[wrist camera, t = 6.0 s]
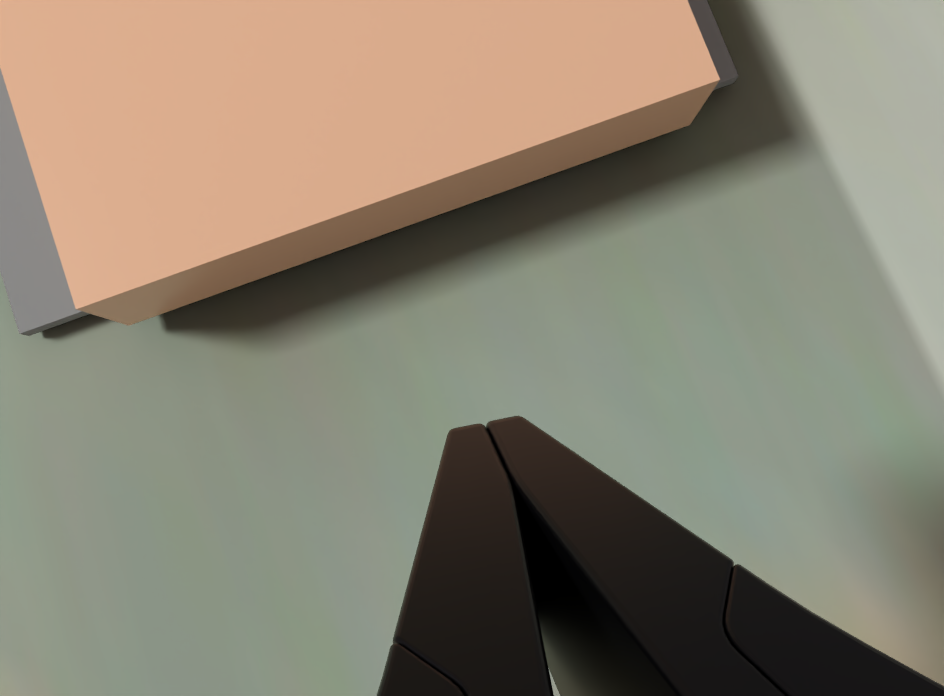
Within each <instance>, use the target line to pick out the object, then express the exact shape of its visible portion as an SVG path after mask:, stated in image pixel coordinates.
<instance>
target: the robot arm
mask: <svg viewBox="0 0 944 696" xmlns="http://www.w3.org/2000/svg"><path fill="white" fill-rule="evenodd" d="M548 667H549V669H548ZM549 670H550V672H551V674H552V677H553V679H554V682H555V684H556V686H557V689H558V691H559V694H560V696H944V686H942V685H940V684H939V683H937V682H935V681H933V680H931V679H930V678H928V677H926V676H924V675H922V674H920V673H919V672H917V671H915V670H913V669H911V668H910V667H908V666H906V665H904V664H902V663H901V662H899V661H897V660H895V659H893V658H891V657H890V656H888V655H886V654H884V653H882V652H881V651H879V650H877V649H875V648H873V647H872V646H870V645H868V644H866V643H864V642H863V641H861V640H859V639H857V638H856V637H854V636H852V635H851V634H849V633H847V632H845V631H844V630H842V629H840V628H838V627H837V626H835V625H833V624H832V623H830V622H828V621H826V620H825V619H823V618H821V617H820V616H818V615H816V614H814V613H813V612H811V611H809V610H808V609H806V608H805V607H803V606H802V605H800V604H799V603H797V602H796V601H794V600H792V599H791V598H789V597H788V596H786V595H785V594H783V593H782V592H780V591H778V590H777V589H775V588H774V587H772V586H771V585H769V584H768V583H766V582H765V581H763V580H762V579H760V578H759V577H757V576H756V575H754V574H753V573H751V572H750V571H748V570H747V569H745V568H744V567H743V566H741V565H739V564H737V565H734V562H733V560H732V559H730V558H729V557H727V556H726V555H724V554H723V553H722V552H720V551H719V550H717V549H716V548H714V547H713V546H711V545H710V544H708V543H707V542H705V541H704V540H702V539H701V538H699V537H698V536H697V535H695V534H694V533H692V532H691V531H689V530H688V529H686V528H685V527H683V526H682V525H680V524H679V523H677V522H676V521H675V520H673V519H672V518H670V517H669V516H667V515H666V514H664V513H663V512H661V511H660V510H658V509H657V508H655V507H654V506H653V505H651V504H650V503H648V502H647V501H645V500H644V499H642V498H641V497H639V496H638V495H636V494H635V493H633V492H632V491H630V490H629V489H628V488H626V487H625V486H623V485H622V484H620V483H619V482H617V481H616V480H614V479H613V478H611V477H610V476H608V475H607V474H606V473H604V472H603V471H601V470H600V469H598V468H597V467H595V466H594V465H592V464H591V463H589V462H588V461H586V460H585V459H584V458H582V457H581V456H579V455H578V454H576V453H575V452H573V451H572V450H570V449H569V448H567V447H566V446H564V445H563V444H561V443H560V442H559V441H557V440H556V439H554V438H553V437H551V436H550V435H548V434H547V433H545V432H544V431H542V430H541V429H539V428H538V427H537V426H535V425H534V424H532V423H531V422H529V421H528V420H526V419H525V418H523V417H520V416H513V417H508V418H503V419H498V420H494V421H490V422H488V423H487V425H486V427H485V426H484V425H482V424H473V425H468V426H463V427H458V428H454V429H451V430H450V431H449V433H448V435H447V439H446V442H445V446H444V450H443V454H442V457H441V461H440V465H439V469H438V472H437V476H436V480H435V484H434V487H433V491H432V495H431V499H430V502H429V506H428V510H427V514H426V517H425V521H424V525H423V529H422V532H421V536H420V540H419V544H418V547H417V551H416V555H415V559H414V562H413V566H412V570H411V574H410V577H409V581H408V585H407V589H406V592H405V596H404V600H403V604H402V607H401V611H400V615H399V619H398V622H397V626H396V630H395V634H394V637H393V645H392V646H391V647H390V651H389V654H388V658H387V662H386V666H385V669H384V673H383V677H382V680H381V683H380V686H379V690H378V693H377V696H554V695H553V690H552V685H551V680H550V674H549Z"/></svg>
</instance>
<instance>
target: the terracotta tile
mask: <svg viewBox="0 0 944 696" xmlns="http://www.w3.org/2000/svg"><path fill="white" fill-rule="evenodd" d="M0 68H1V71H2V75H3V78H4V81H5V84H6V87H7V91H8V94H9V97H10V100H11V103H12V107H13V110H14V113H15V116H16V119H17V123H18V126H19V129H20V132H21V135H22V139H23V142H24V145H25V148H26V151H27V155H28V158H29V161H30V164H31V167H32V171H33V174H34V177H35V180H36V183H37V187H38V190H39V193H40V196H41V199H42V203H43V206H44V209H45V212H46V215H47V219H48V222H49V225H50V228H51V231H52V235H53V238H54V241H55V244H56V247H57V251H58V254H59V257H60V260H61V263H62V267H63V270H64V273H65V276H66V279H67V283H68V286H69V289H70V292H71V295H72V299H73V302H74V305H75V308H76V310H80V311H83V312H86V313H89V314H93V315H96V316H99V317H103V318H106V319H109V320H112V321H116V322H119V323H122V324H125V325H132V324H135V323H137V322H140V321H143V320H146V319H149V318H151V317H154V316H157V315H160V314H163V313H165V312H168V311H171V310H174V309H177V308H179V307H182V306H185V305H188V304H191V303H193V302H196V301H199V300H202V299H205V298H207V297H210V296H213V295H216V294H219V293H221V292H224V291H227V290H230V289H233V288H235V287H238V286H241V285H244V284H247V283H249V282H252V281H255V280H258V279H261V278H263V277H266V276H269V275H272V274H275V273H277V272H280V271H283V270H286V269H288V268H291V267H294V266H297V265H300V264H302V263H305V262H308V261H311V260H314V259H316V258H319V257H322V256H325V255H328V254H330V253H333V252H336V251H339V250H342V249H344V248H347V247H350V246H353V245H356V244H358V243H361V242H364V241H367V240H370V239H372V238H375V237H378V236H381V235H384V234H386V233H389V232H392V231H395V230H398V229H400V228H403V227H406V226H409V225H412V224H414V223H417V222H420V221H423V220H426V219H428V218H431V217H434V216H437V215H439V214H442V213H445V212H448V211H451V210H453V209H456V208H459V207H462V206H465V205H467V204H470V203H473V202H476V201H479V200H481V199H484V198H487V197H490V196H493V195H495V194H498V193H501V192H504V191H507V190H509V189H512V188H515V187H518V186H521V185H523V184H526V183H529V182H532V181H535V180H537V179H540V178H543V177H546V176H549V175H551V174H554V173H557V172H560V171H563V170H565V169H568V168H571V167H574V166H576V165H579V164H582V163H585V162H588V161H590V160H593V159H596V158H599V157H602V156H604V155H607V154H610V153H613V152H616V151H618V150H621V149H624V148H627V147H630V146H632V145H635V144H638V143H641V142H644V141H646V140H649V139H652V138H655V137H658V136H660V135H663V134H666V133H669V132H672V131H674V130H677V129H680V128H683V127H686V126H688V125H690V124H691V123H692V121H693V120H694V118H695V117H696V115H697V114H698V112H699V111H700V109H701V108H702V106H703V105H704V103H705V102H706V100H707V99H708V97H709V96H710V94H711V93H712V91H713V90H714V88H715V87H716V85H717V83H718V82H719V80H720V78H719V76H718V73H717V71H716V68H715V66H714V63H713V61H712V59H711V56H710V54H709V51H708V49H707V47H706V44H705V42H704V39H703V37H702V34H701V32H700V30H699V27H698V25H697V22H696V20H695V17H694V15H693V13H692V10H691V8H690V5H689V3H688V0H0Z"/></svg>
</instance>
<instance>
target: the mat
mask: <svg viewBox="0 0 944 696" xmlns="http://www.w3.org/2000/svg"><path fill="white" fill-rule="evenodd" d="M688 3H689V5H690V8H691V10H692V13H693V15H694V17H695V20H696V22H697V25H698V27H699V30H700V32H701V34H702V37H703V39H704V42H705V44H706V47H707V49H708V51H709V54H710V56H711V59H712V61H713V63H714V66H715V68H716V71H717V73H718V76H719V78H720V80H719V82H718V83H717V85H716V87H715V88H714V90H716V89H719V88H722V87H724V86H727V85H730V84H733V83H734V82H735V81H736V79H737V78H738V73H737V71H736V68H735V66H734V64H733V61H732V59H731V56H730V54H729V52H728V49H727V47H726V44H725V42H724V40H723V37H722V35H721V32H720V30H719V28H718V25H717V23H716V20H715V18H714V16H713V13H712V11H711V8H710V6H709V4H708V1H707V0H688ZM0 272H1V275H2V278H3V282H4V285H5V288H6V291H7V295H8V298H9V301H10V305H11V308H12V311H13V314H14V318H15V321H16V324H17V327H18V331H19V334H23V335H28V336H30V335H32V334H35V333H38V332H41V331H44V330H46V329H49V328H52V327H55V326H58V325H60V324H63V323H66V322H69V321H72V320H74V319H77V318H80V317H83V316H85V315H88V314H89V313H86V312H83V311H80V310H76V308H75V305H74V302H73V299H72V295H71V292H70V289H69V286H68V283H67V279H66V276H65V273H64V270H63V267H62V263H61V260H60V257H59V254H58V251H57V247H56V244H55V241H54V238H53V235H52V231H51V228H50V225H49V222H48V219H47V215H46V212H45V209H44V206H43V203H42V199H41V196H40V193H39V190H38V187H37V183H36V180H35V177H34V174H33V171H32V167H31V164H30V161H29V158H28V155H27V151H26V148H25V145H24V142H23V139H22V135H21V132H20V129H19V126H18V123H17V119H16V116H15V113H14V110H13V107H12V103H11V100H10V97H9V94H8V91H7V87H6V84H5V81H4V78H3V75H2V71H1V68H0Z"/></svg>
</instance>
